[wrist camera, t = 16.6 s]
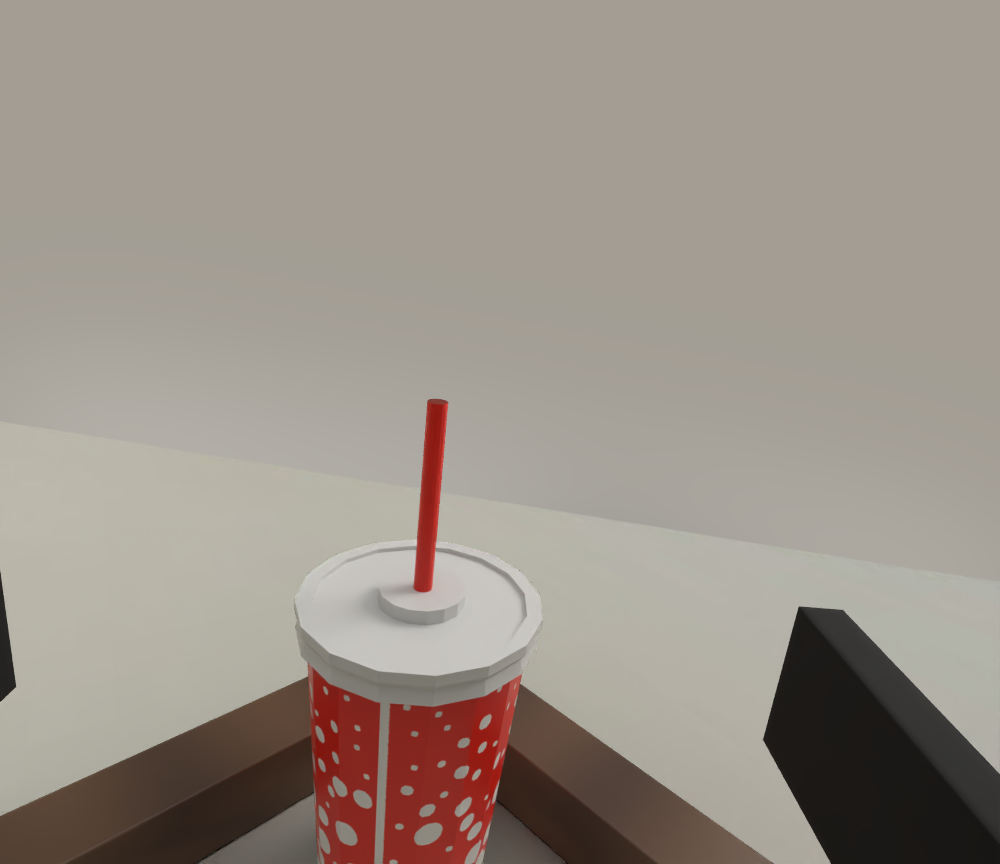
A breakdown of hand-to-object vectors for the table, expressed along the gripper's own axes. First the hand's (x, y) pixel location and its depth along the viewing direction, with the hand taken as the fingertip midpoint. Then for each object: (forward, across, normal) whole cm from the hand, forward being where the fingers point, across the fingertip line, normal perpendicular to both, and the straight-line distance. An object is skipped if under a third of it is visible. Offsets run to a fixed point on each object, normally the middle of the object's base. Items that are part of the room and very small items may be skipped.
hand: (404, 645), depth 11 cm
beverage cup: (+5, 0, -11) cm, 12 cm away
